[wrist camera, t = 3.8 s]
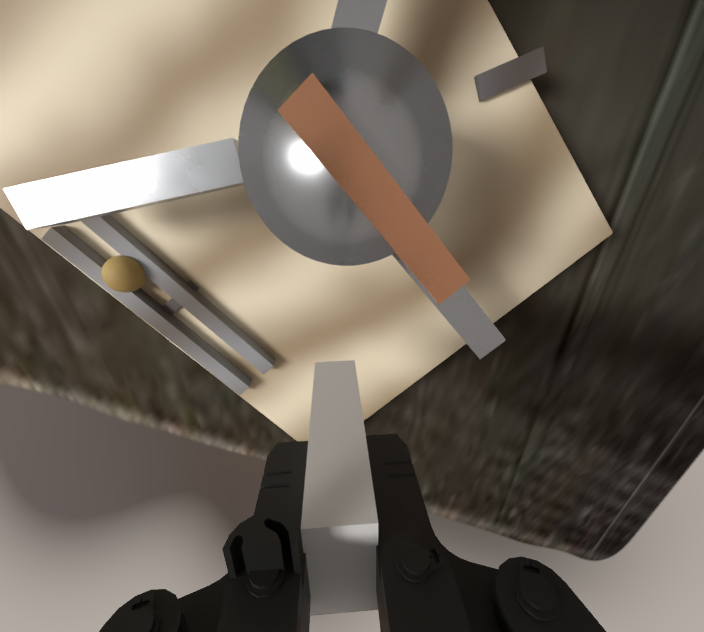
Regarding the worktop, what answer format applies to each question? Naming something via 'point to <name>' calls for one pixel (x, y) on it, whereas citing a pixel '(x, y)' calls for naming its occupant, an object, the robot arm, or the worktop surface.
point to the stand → (240, 215)
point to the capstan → (313, 164)
